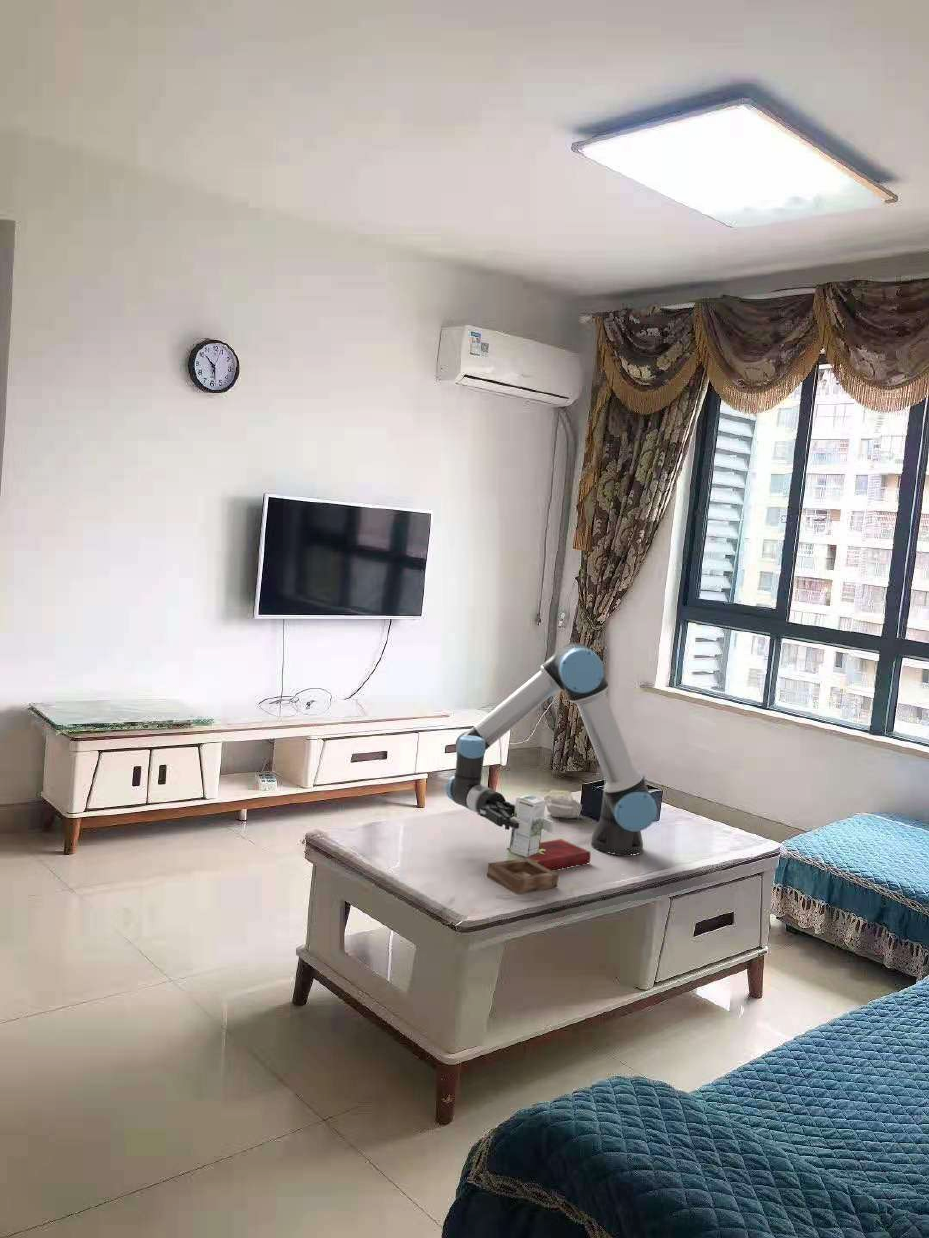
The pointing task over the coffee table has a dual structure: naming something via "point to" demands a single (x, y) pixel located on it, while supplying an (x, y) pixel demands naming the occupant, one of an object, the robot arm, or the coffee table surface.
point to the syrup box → (533, 814)
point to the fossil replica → (562, 804)
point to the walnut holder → (522, 875)
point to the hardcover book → (557, 855)
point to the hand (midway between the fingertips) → (540, 828)
